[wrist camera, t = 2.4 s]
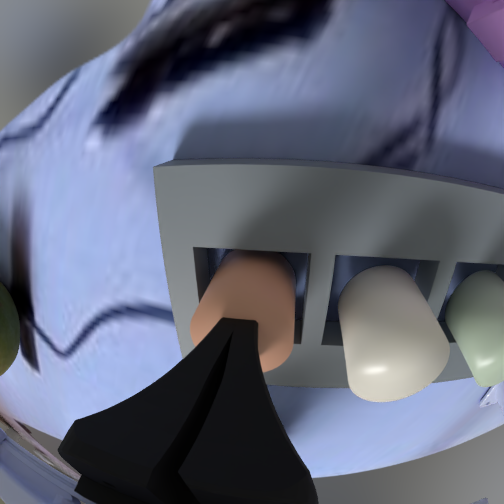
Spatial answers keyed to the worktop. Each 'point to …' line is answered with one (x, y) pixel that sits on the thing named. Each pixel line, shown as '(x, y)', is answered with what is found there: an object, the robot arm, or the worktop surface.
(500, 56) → the teapot
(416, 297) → the button cream
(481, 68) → the worktop surface
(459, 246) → the panel
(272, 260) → the button terracotta
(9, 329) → the fruit
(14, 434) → the house plant
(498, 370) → the button sage
